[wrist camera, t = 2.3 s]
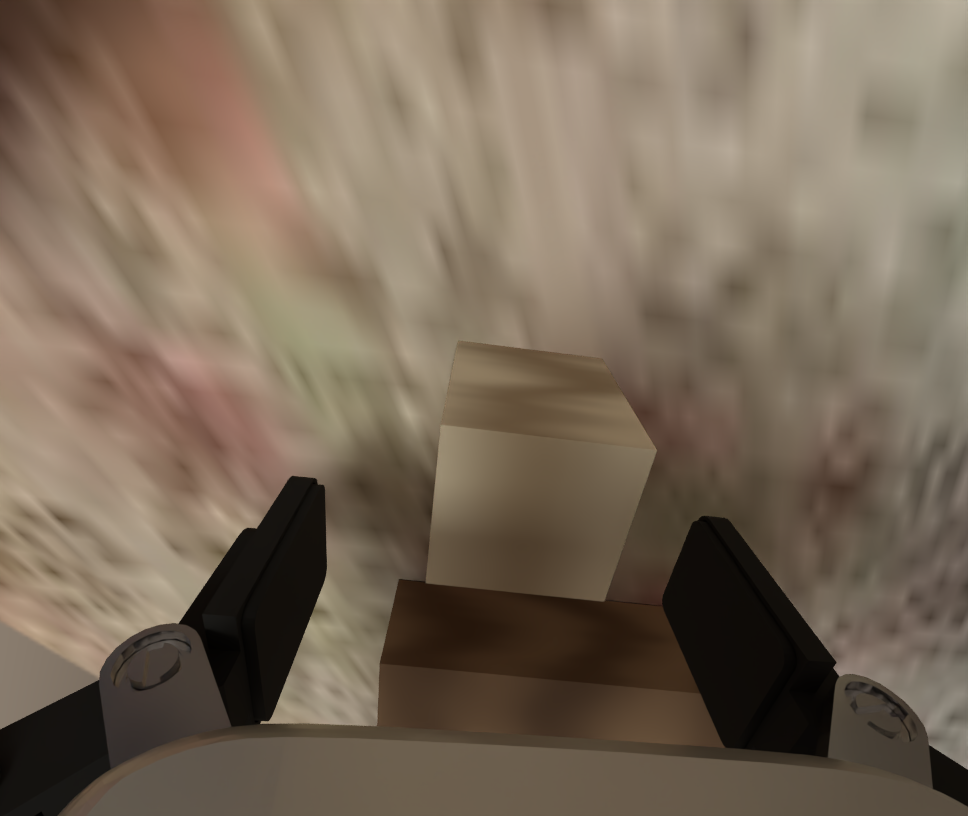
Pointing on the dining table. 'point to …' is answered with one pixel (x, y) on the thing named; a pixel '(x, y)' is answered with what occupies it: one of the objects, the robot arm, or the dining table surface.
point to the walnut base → (537, 668)
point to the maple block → (534, 474)
